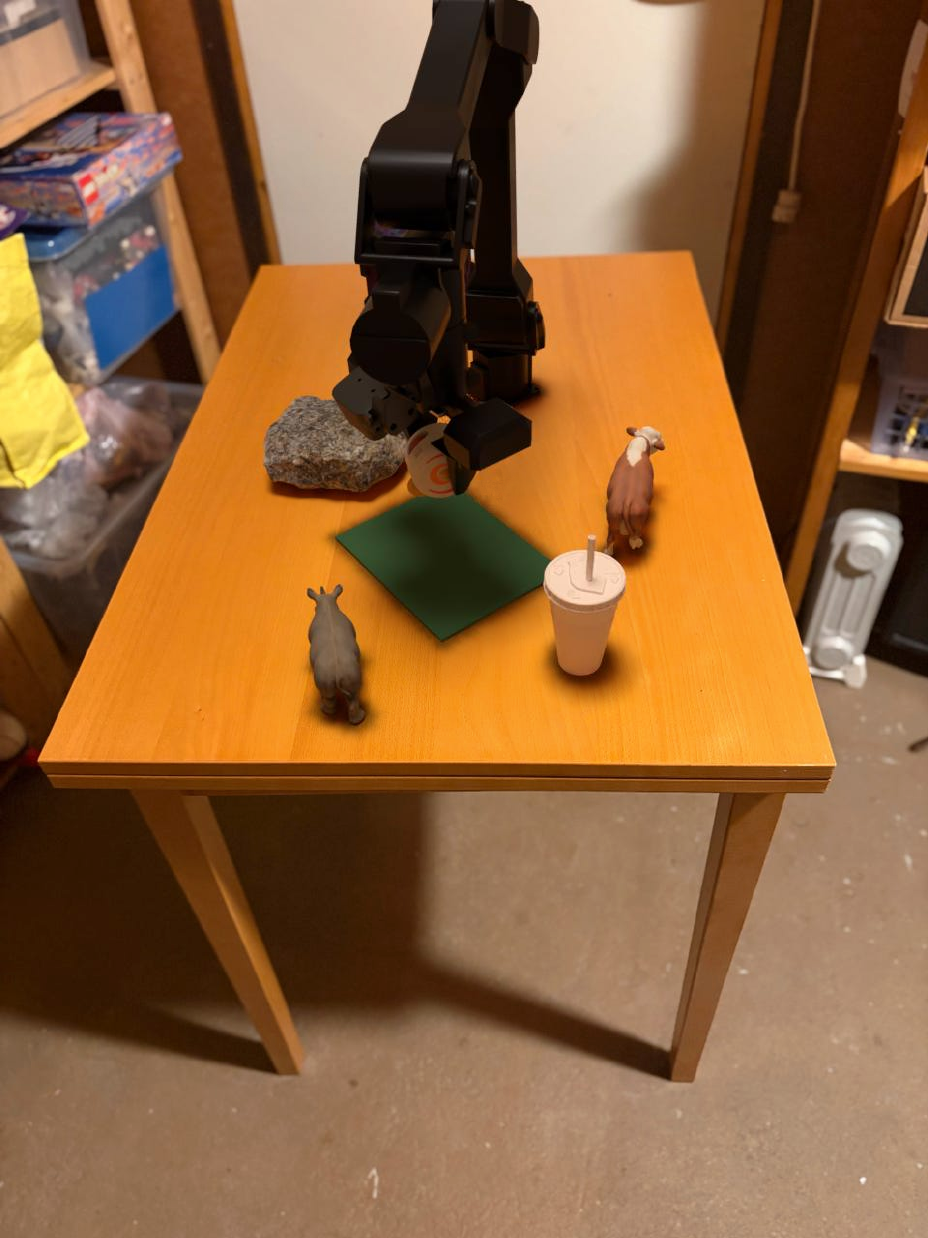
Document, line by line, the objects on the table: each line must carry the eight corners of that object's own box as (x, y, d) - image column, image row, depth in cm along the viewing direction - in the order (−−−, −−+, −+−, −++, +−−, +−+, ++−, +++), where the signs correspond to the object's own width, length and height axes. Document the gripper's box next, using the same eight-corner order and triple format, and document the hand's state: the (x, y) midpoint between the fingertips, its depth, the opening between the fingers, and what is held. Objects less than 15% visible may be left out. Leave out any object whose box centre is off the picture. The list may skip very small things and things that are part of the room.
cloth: (449, 482, 97) (449, 480, 97) (563, 573, 86) (563, 570, 86) (335, 538, 91) (334, 536, 91) (441, 642, 81) (441, 640, 81)
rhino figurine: (351, 606, 85) (342, 556, 80) (373, 721, 75) (364, 673, 71) (306, 614, 84) (295, 564, 80) (322, 731, 75) (310, 683, 70)
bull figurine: (663, 486, 95) (673, 418, 89) (636, 572, 86) (645, 503, 80) (621, 479, 96) (628, 411, 90) (590, 563, 87) (595, 494, 81)
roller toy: (482, 496, 82) (479, 442, 78) (412, 509, 81) (406, 455, 77) (470, 467, 85) (467, 414, 81) (402, 480, 84) (396, 426, 80)
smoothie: (567, 699, 76) (574, 573, 66) (527, 648, 80) (528, 523, 70) (632, 669, 78) (648, 543, 68) (590, 622, 82) (600, 496, 72)
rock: (256, 495, 97) (396, 510, 95) (244, 445, 92) (391, 460, 90) (294, 424, 105) (423, 436, 103) (285, 374, 101) (419, 387, 98)
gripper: (279, 305, 74) (311, 465, 85) (411, 404, 63) (428, 572, 74) (395, 263, 78) (411, 420, 89) (537, 348, 67) (535, 515, 79)
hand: (441, 478), depth 83 cm, fingers closed on roller toy, 5 cm apart
